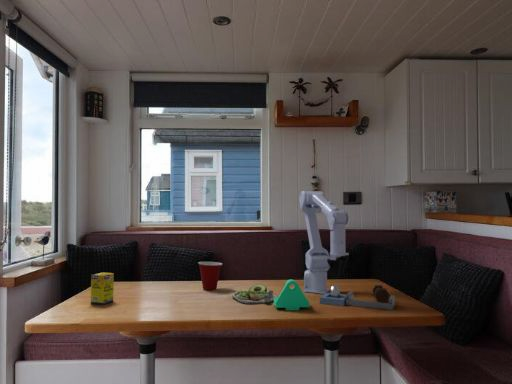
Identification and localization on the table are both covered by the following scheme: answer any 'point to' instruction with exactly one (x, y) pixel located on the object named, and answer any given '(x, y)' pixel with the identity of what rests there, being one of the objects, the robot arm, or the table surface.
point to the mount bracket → (370, 304)
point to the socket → (333, 299)
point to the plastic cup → (209, 274)
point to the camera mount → (291, 297)
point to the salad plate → (255, 295)
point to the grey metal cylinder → (335, 291)
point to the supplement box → (102, 288)
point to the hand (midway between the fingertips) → (338, 276)
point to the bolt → (380, 293)
